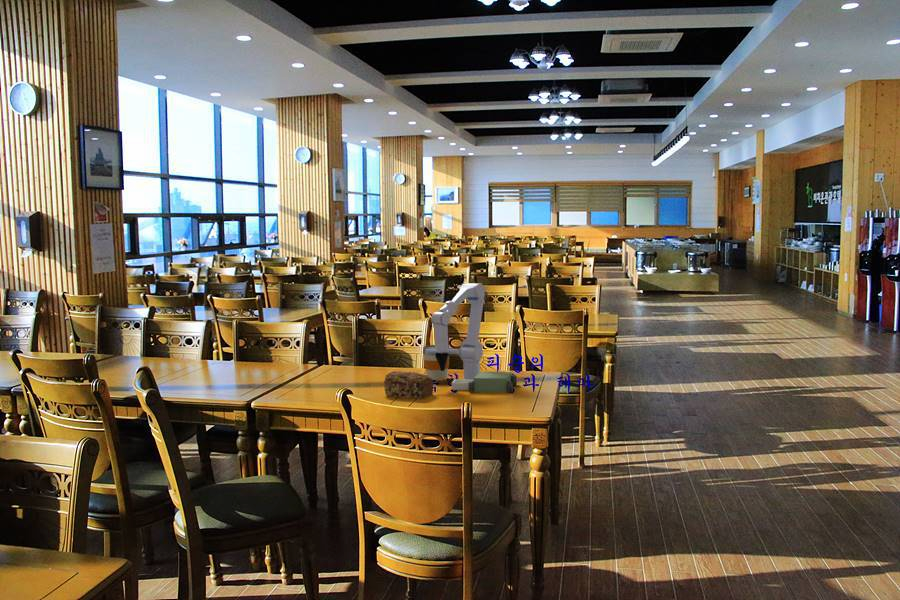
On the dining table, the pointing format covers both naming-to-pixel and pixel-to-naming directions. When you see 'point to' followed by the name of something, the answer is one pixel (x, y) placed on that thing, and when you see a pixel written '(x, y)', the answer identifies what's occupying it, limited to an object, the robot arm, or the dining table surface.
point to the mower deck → (493, 382)
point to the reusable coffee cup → (434, 365)
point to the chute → (460, 384)
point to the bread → (408, 385)
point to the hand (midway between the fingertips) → (442, 370)
